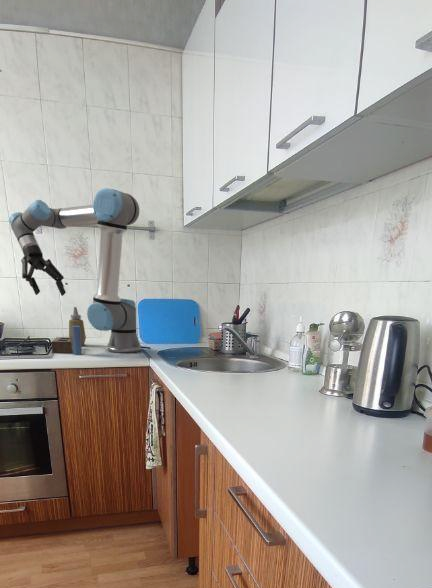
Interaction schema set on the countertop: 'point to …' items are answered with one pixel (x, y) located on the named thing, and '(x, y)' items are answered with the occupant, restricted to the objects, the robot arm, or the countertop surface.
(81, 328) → the squeeze bottle
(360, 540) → the countertop surface
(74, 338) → the peg
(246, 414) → the countertop surface
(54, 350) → the peg stand
